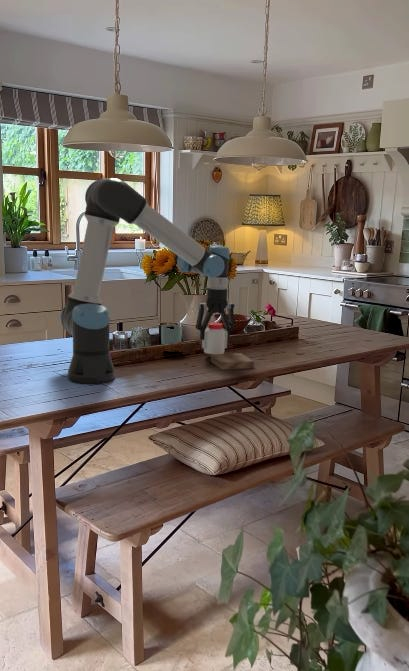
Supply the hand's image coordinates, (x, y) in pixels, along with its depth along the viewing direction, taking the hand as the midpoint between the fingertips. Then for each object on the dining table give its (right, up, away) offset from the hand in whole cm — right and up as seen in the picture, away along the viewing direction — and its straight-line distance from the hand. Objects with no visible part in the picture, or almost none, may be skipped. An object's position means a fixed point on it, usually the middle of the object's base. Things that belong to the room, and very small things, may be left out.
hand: (214, 347), depth 232 cm
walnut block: (+6, -6, -9) cm, 13 cm away
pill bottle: (0, -2, 0) cm, 2 cm away
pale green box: (-17, -2, +7) cm, 19 cm away
